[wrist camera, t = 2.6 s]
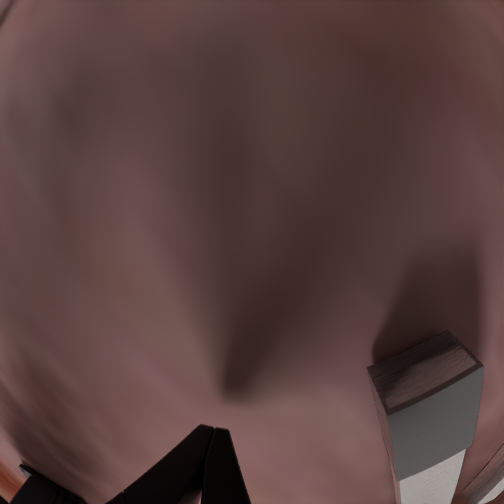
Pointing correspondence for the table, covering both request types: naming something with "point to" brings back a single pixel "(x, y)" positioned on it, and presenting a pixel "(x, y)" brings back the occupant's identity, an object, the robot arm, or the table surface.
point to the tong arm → (427, 415)
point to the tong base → (487, 481)
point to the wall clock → (3, 501)
